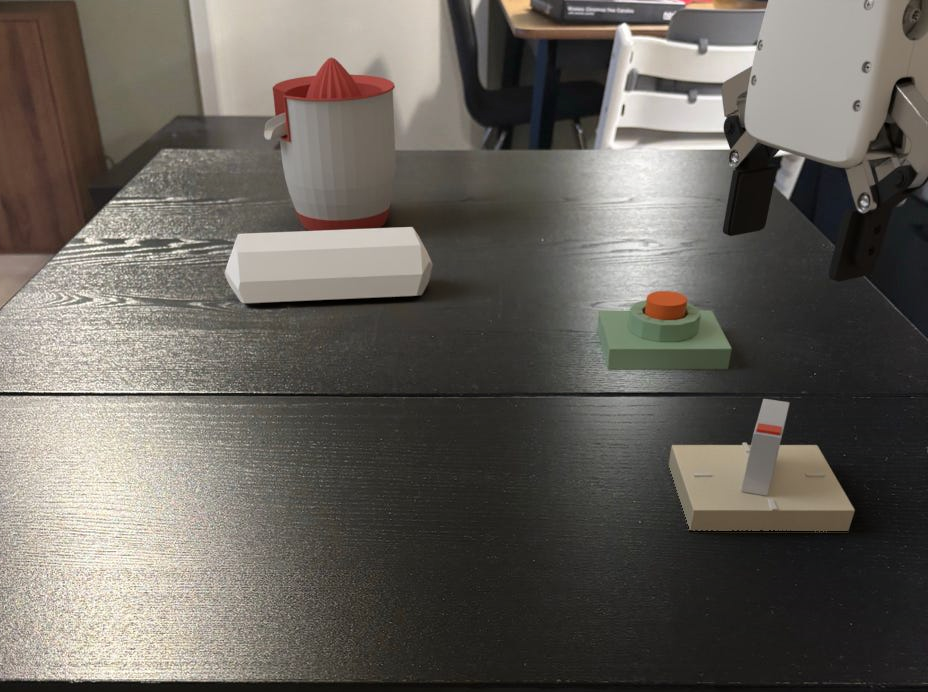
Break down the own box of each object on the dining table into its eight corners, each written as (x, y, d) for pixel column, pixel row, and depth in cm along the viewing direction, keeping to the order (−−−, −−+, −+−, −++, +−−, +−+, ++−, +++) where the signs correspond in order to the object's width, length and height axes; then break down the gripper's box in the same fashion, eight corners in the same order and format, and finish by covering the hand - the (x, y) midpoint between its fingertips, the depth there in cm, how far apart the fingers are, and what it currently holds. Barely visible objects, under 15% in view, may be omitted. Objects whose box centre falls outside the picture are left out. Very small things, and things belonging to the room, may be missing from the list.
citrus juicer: (263, 217, 133) (242, 53, 120) (379, 203, 138) (371, 43, 125) (291, 251, 122) (271, 74, 109) (416, 233, 127) (411, 62, 114)
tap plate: (811, 465, 79) (817, 442, 77) (848, 533, 71) (856, 509, 70) (668, 465, 79) (671, 442, 78) (689, 533, 71) (694, 508, 70)
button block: (708, 330, 101) (715, 293, 98) (728, 369, 93) (735, 330, 91) (596, 330, 101) (600, 293, 98) (607, 369, 93) (611, 330, 91)
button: (681, 307, 96) (683, 290, 95) (688, 322, 93) (690, 305, 92) (642, 307, 96) (644, 290, 95) (647, 322, 93) (649, 305, 92)
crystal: (218, 281, 102) (436, 271, 104) (218, 229, 105) (431, 221, 106) (230, 325, 109) (434, 316, 111) (230, 275, 112) (430, 267, 113)
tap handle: (750, 455, 76) (764, 395, 73) (776, 459, 76) (790, 399, 72) (740, 491, 72) (754, 429, 68) (767, 496, 71) (782, 434, 68)
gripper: (1067, -78, 44) (945, 286, 55) (806, -93, 56) (749, 210, 67) (955, -72, 42) (850, 308, 53) (706, -89, 54) (664, 225, 65)
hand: (793, 253), depth 60 cm, fingers open, 9 cm apart
